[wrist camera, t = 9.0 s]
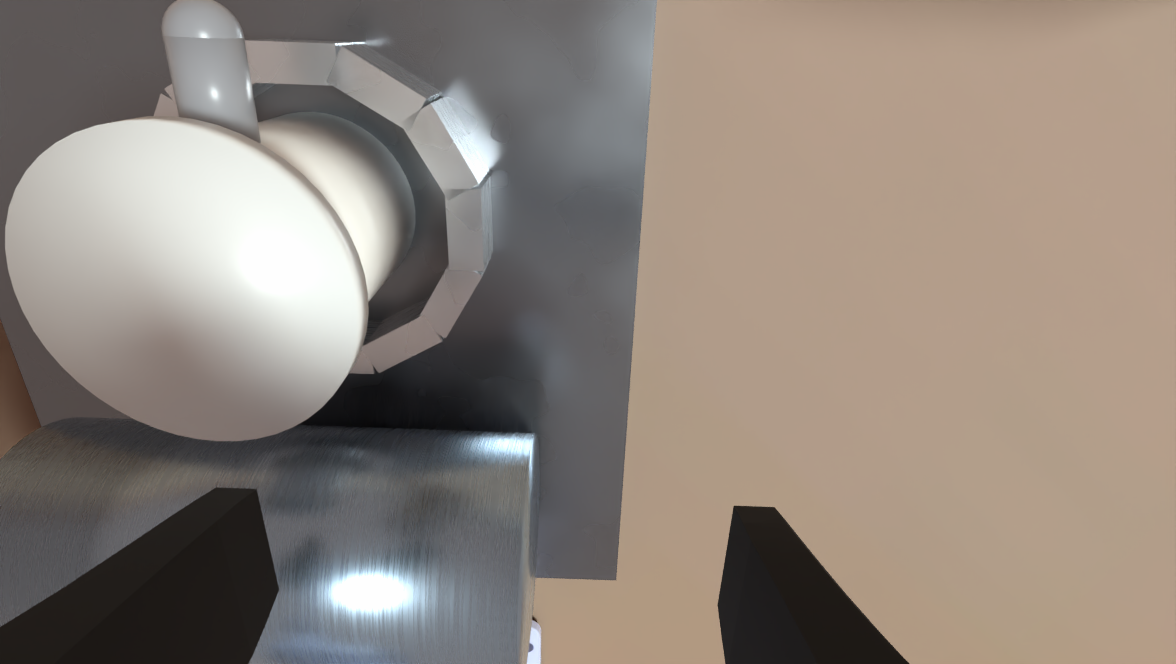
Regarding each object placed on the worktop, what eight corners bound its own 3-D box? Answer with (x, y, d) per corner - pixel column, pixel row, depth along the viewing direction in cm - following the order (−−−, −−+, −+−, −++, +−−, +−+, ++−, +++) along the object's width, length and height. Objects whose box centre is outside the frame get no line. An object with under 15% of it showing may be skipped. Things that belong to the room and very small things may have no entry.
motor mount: (614, 553, 22) (622, 770, 16) (117, 535, 22) (-81, 746, 16) (656, -56, 15) (703, -119, 8) (-101, -84, 15) (-658, -172, 8)
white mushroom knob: (443, 316, 17) (372, 448, 12) (231, 305, 17) (64, 433, 12) (427, 10, 14) (322, 1, 9) (170, -4, 14) (-95, -22, 9)
